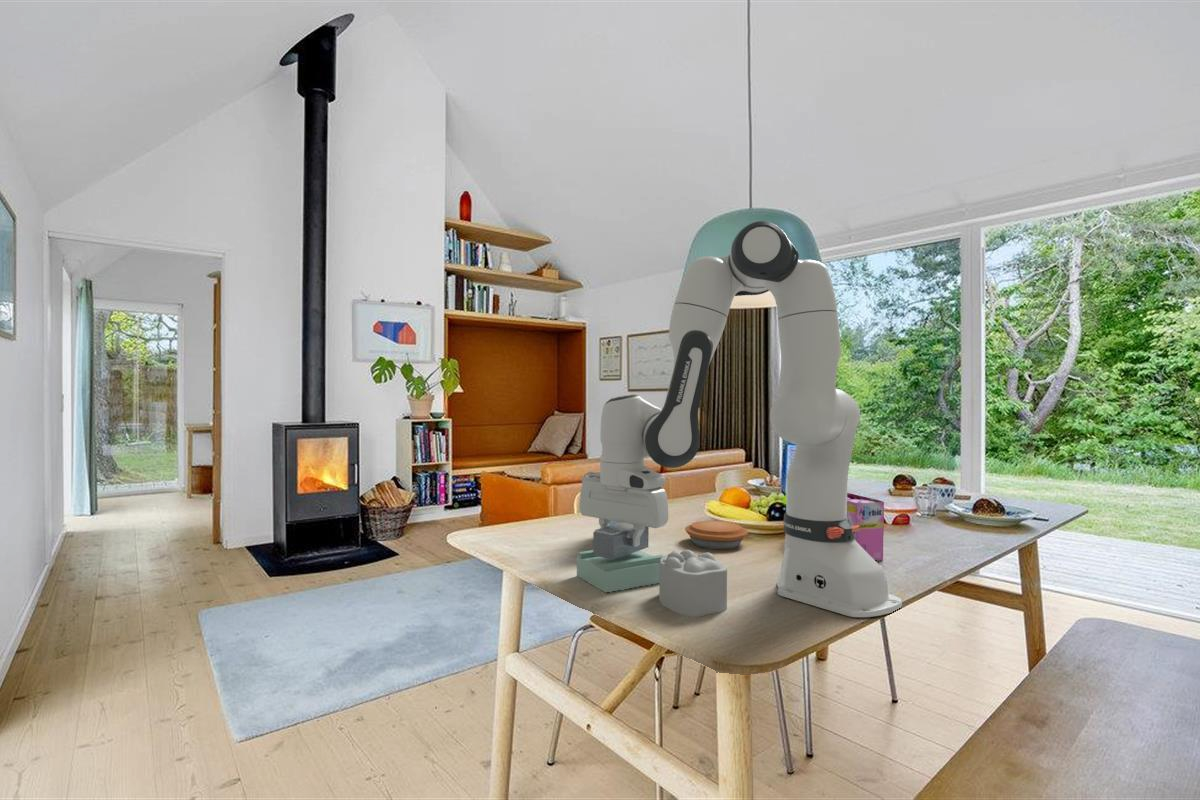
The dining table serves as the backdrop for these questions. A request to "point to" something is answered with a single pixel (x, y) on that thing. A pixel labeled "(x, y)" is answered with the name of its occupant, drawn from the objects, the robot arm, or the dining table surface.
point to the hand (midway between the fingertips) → (621, 543)
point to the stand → (619, 570)
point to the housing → (617, 541)
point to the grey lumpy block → (692, 583)
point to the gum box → (867, 523)
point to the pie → (716, 534)
